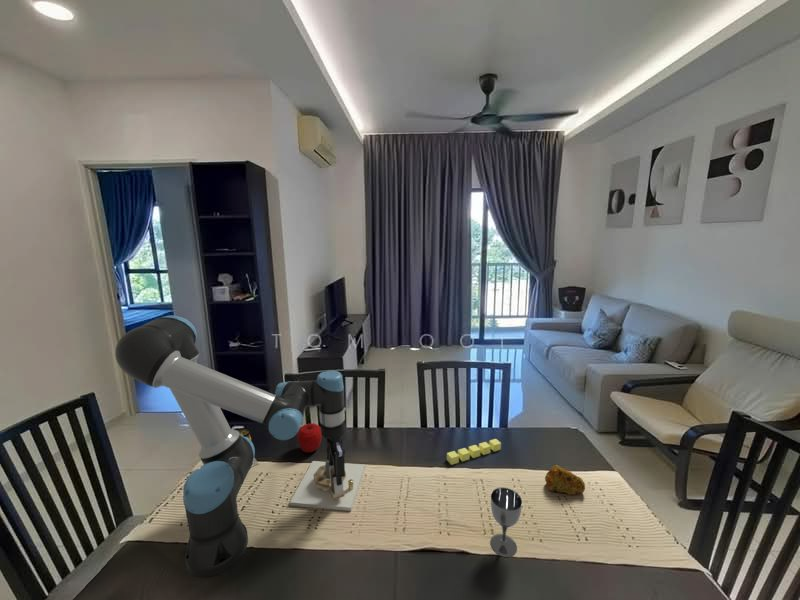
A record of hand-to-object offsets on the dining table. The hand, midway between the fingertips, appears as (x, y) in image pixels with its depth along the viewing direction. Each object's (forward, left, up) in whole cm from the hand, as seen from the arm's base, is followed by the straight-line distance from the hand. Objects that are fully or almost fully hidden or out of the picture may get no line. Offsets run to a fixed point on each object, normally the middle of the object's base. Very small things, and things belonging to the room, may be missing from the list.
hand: (336, 487), depth 109 cm
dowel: (+5, -3, -5) cm, 8 cm away
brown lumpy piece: (+14, -74, -6) cm, 76 cm away
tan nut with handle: (+5, +3, -3) cm, 6 cm away
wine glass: (-10, -50, -5) cm, 52 cm away
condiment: (+15, +41, -5) cm, 44 cm away
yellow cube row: (+30, -44, -6) cm, 54 cm away
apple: (+25, +19, -5) cm, 31 cm away
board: (+7, +5, -5) cm, 10 cm away
